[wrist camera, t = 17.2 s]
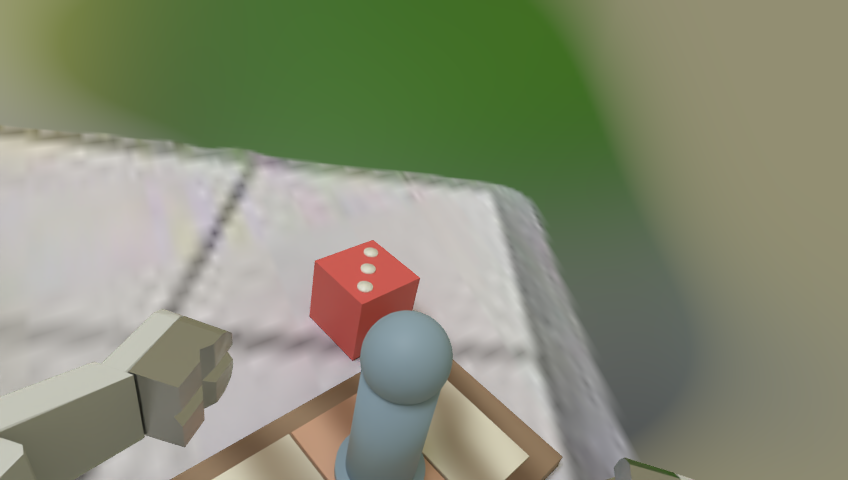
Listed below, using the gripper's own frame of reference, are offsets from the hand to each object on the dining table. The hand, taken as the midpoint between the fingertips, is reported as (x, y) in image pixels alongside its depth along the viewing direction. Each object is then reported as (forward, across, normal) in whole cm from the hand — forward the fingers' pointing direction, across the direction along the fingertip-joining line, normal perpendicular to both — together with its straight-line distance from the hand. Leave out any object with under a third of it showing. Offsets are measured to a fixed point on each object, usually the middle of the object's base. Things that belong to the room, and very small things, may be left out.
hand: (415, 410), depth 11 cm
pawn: (+12, -1, -22) cm, 25 cm away
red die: (+25, -7, -23) cm, 35 cm away
